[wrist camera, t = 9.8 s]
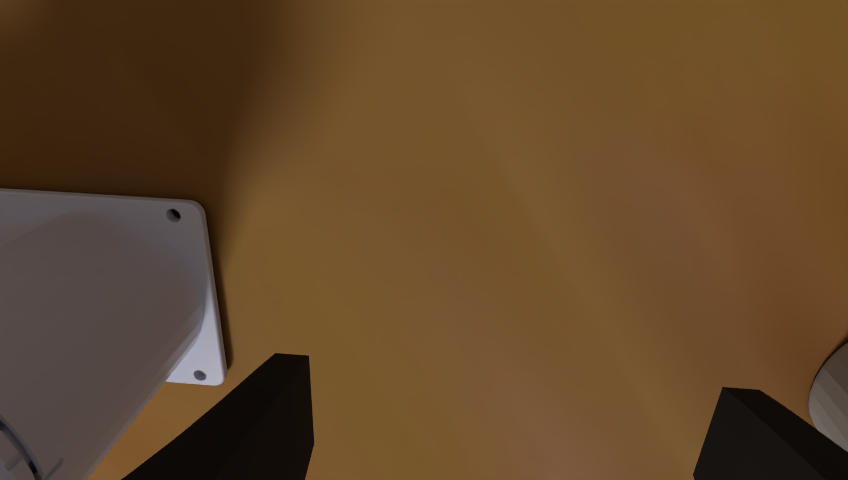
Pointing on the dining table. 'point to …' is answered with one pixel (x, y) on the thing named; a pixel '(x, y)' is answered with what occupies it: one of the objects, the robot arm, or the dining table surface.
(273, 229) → the dining table surface
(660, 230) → the dining table surface
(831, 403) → the coffee cup
